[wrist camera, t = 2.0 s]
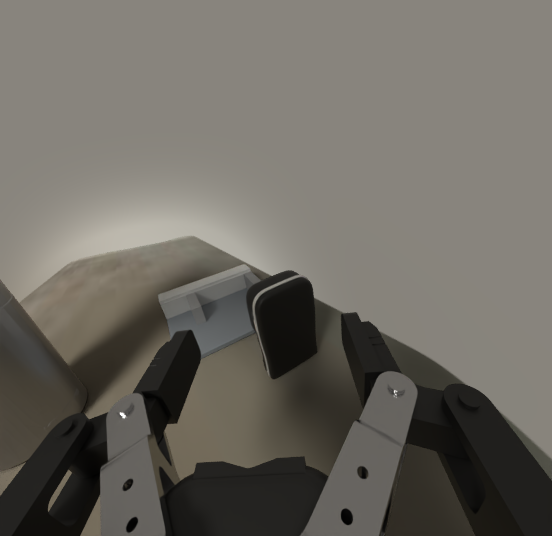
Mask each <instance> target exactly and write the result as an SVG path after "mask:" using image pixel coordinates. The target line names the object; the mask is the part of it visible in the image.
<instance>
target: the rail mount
mask: <svg viewBox="0 0 552 536" xmlns="http://www.w3.org/2000/svg"><path fill="white" fill-rule="evenodd" d="M260 281H261V280H260V279H259V278H258V277H257V276H255V275H254V274H253V273H252V272H251V271H250V268H249V267H248V266H246V265H245V264H243V265H240V266H237V267H235V268H232V269H229V270H226V271H223V272H220V273H218V274H215V275H212V276H209V277H206V278H203V279H201V280H198V281H195V282H192V283H189V284H187V285H184V286H181V287H178V288H175V289H172V290H170V291H167V292H164V293H161V294H158V298H159V303H160V305H161V308H162V310H163V312H164V314H165V316H166V319H167V323H168V328H169V333H170V338H171V339H172V337H173V335H174V334H175V332H176V331H183V330H192V331H193V333H194V336H195V338H196V340H197V343H198V345H199V348H200V351H201V359H202V358H204V357H206V356H208V355H210V354H212V353H214V352H216V351H218V350H220V349H222V348H225V347H227V346H229V345H231V344H233V343H235V342H237V341H239V340H241V339H243V338H245V337H247V336H249V335H251V334H253V333H256V332H255V331H254V329H253V328H252V326H251V322H250V318H249V313H248V308H247V303H246V294H247V291H248V289H249V288H250V287H251V286H252V285H254V284H255V283H257V282H260Z"/></svg>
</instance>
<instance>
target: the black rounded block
mask: <svg viewBox="0 0 552 536" xmlns="http://www.w3.org/2000/svg"><path fill="white" fill-rule="evenodd" d="M246 303H247V308H248V313H249V318H250V322H251V326H252V328H253V329H254V331H255V332H256V334H257V338H258V341H259V344H260V347H261V350H262V354H263V362H264V366H265V369H266V371H267V373H268V375H269V376H270V377H271V378H272V379H275V378H277V377H279V376H281V375H282V374H284V373H286V372H287V371H289V370H291V369H292V368H294V367H296V366H297V365H299V364H300V363H302V362H303V361H305V360H306V359H308V358H310V357H311V356H313V355H314V354H316V353H317V346H316V334H315V306H314V295H313V288H312V284H311V283H310V281H309V280H308V279H307V278H306V277H305V276H302V275H299V274H298V273H296V272H294V271H284V272H281V273H279V274H276V275H274V276H271V277H269V278H266V279H264V280H262V281H260V282H257V283H255V284H254V285H252V286H251V287H250V288H249V289H248V291H247V294H246Z"/></svg>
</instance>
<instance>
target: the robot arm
mask: <svg viewBox="0 0 552 536" xmlns="http://www.w3.org/2000/svg"><path fill="white" fill-rule="evenodd" d="M341 327H342V342H343V347H344V350H345V353H346V357H347V360H348V363H349V366H350V369H351V372H352V375H353V378H354V382H355V385H356V388H357V391H358V394H359V397H360V400H361V404H362V407H363V412H362V414H361V416H360V418H359V420H355V421H354V423H353V425H352V427H351V429H350V431H349V433H348V436H347V438H346V440H345V442H344V444H343V447H342V449H341V451H340V453H339V456H338V458H337V460H336V462H335V464H334V467H333V469H332V471H331V473H330V476H329V477H328V476H327V475H325V474H324V473H322V472H320V471H319V470H317V469H314V468H312V467H309V466H306V463H305V458H304V457H289V458H276V459H274V460H271V461H268V462H266V463H263V464H260V465H258V466H255V467H252V468H244V467H240V466H237V465H233V464H230V463H226V462H223V461H221V462H204V463H197V464H196V468H195V472H194V473H193V474H191V475H189V476H187V477H186V478H184V479H183V480H181V481H180V479H179V477H178V474H177V472H176V468H175V465H174V461H173V458H172V454H171V450H170V447H169V443H168V439H167V436H166V433H165V431H164V430H165V428H166V426H167V424H174V423H177V422H178V419H179V416H180V414H181V411H182V409H183V406H184V403H185V401H186V398H187V395H188V393H189V390H190V387H191V385H192V382H193V379H194V377H195V374H196V371H197V369H198V366H199V364H200V360H201V351H200V348H199V345H198V343H197V340H196V338H195V336H194V333H193V331H192V330H183V331H176V332H175V334H174V335H173V337H172V339H171V340H170V342H166V343H165V344H164V345H163V346H162V347H161V348H160V349H159V350H158V352H157V354H156V355H155V357H154V360H152V362H151V363H150V367H148V368H147V370H146V372H145V373H144V375H143V377H142V378H141V380H140V382H139V383H138V385H137V387H136V388H135V390H134V391H133V393H132V394H129V395H127V396H125V397H123V398H122V399H120V400H119V401H118V402H116V403H115V404H114V405H113V406H112V408H111V409H110V411H109V412H108V413H105V414H102V415H100V416H97V417H94V418H92V419H88V418H87V416H86V415H85V414H83V413H81V411H82V410H83V408H84V406H85V403H86V401H87V396H88V394H87V389H86V388H85V386H84V385H83V384H82V383H81V381H80V380H79V379H78V378H77V376H76V375H75V374H74V372H73V371H72V370H71V369H70V367H69V366H68V364H67V363H66V362H65V361H64V359H63V358H62V357H61V356H60V354H59V353H58V352H57V350H56V349H55V348H54V347H53V345H52V344H51V343H50V342H49V340H48V339H47V338H46V337H45V335H44V334H43V333H42V331H41V330H40V329H39V328H38V326H37V325H36V324H35V323H34V321H33V320H32V319H31V318H30V316H29V315H28V314H27V312H26V311H25V310H24V309H23V307H22V306H21V305H20V304H19V302H18V301H17V300H16V299H15V297H14V296H13V295H12V294H11V293H10V291H9V290H8V289H7V287H6V286H5V285H4V284H3V283H2V281H1V280H0V471H2V470H6V469H10V468H12V467H14V466H17V465H19V464H21V463H23V462H25V461H27V460H28V461H27V462H26V463H25V465H24V466H23V467H22V469H21V470H20V471H19V472H18V474H17V475H16V476H15V478H14V479H13V480H12V482H11V483H10V484H9V485H8V487H7V488H6V489H5V491H4V492H3V493H2V495H1V496H0V536H80V535H81V533H82V531H83V529H84V527H85V525H86V522H87V520H88V518H89V516H90V514H91V512H92V510H93V508H94V506H95V504H96V502H97V500H98V497H99V495H100V503H101V536H385V534H386V530H387V526H388V522H389V518H390V514H391V510H392V506H393V502H394V497H395V493H396V488H397V484H398V480H399V477H400V473H401V469H402V465H403V461H404V457H405V453H406V449H407V445H408V443H409V444H413V445H416V446H420V447H423V448H427V449H430V450H434V451H437V453H438V456H439V458H440V460H441V462H442V464H443V466H444V469H445V471H446V473H447V475H448V477H449V479H450V482H451V484H452V486H453V488H454V490H455V492H456V495H457V497H458V499H459V501H460V503H461V505H462V508H463V510H464V512H465V514H466V516H467V518H468V521H469V523H470V525H471V527H472V529H473V531H474V534H475V536H552V481H551V479H550V478H549V477H548V475H547V474H546V473H545V472H544V470H543V469H542V468H541V466H540V465H539V464H538V462H537V461H536V460H535V458H534V457H533V456H532V455H531V453H530V452H529V451H528V449H527V448H526V447H525V445H524V444H523V443H522V441H521V440H520V439H519V438H518V436H517V435H516V434H515V432H514V431H513V430H512V428H511V427H510V426H509V424H508V423H507V422H506V421H505V419H504V418H503V417H502V415H501V414H500V413H499V411H498V410H497V409H496V407H495V406H494V405H493V404H492V402H491V401H490V400H489V399H488V398H487V397H486V396H485V395H484V394H483V393H481V392H480V391H478V390H476V389H475V388H472V387H470V386H467V385H464V384H451V385H449V386H447V387H446V388H445V390H444V391H440V390H435V389H430V388H425V387H421V386H419V385H416V384H414V383H413V382H412V381H411V380H410V379H409V378H408V377H407V376H405V375H403V374H402V373H401V371H400V369H399V368H398V366H397V364H396V362H395V360H394V358H393V357H392V355H391V353H390V351H389V349H388V347H387V345H385V342H384V340H383V338H382V336H381V334H380V333H379V331H378V329H377V328H376V327H375V326H374V325H373V324H371V323H370V322H369V321H368V322H361V320H360V319H359V316H358V314H357V313H356V312H354V313H345V314H341ZM68 469H69V470H70V471H71V472H72V474H71V476H70V477H69V479H68V481H67V482H66V484H65V486H64V487H63V489H62V491H61V492H60V494H59V496H58V497H57V499H56V501H55V502H54V504H53V506H52V507H51V509H50V511H49V512H48V504H49V501H50V499H51V497H52V495H53V493H54V492H55V490H56V489H57V487H58V485H59V484H60V482H61V480H62V479H63V477H64V476H65V474H66V472H67V471H68Z"/></svg>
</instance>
